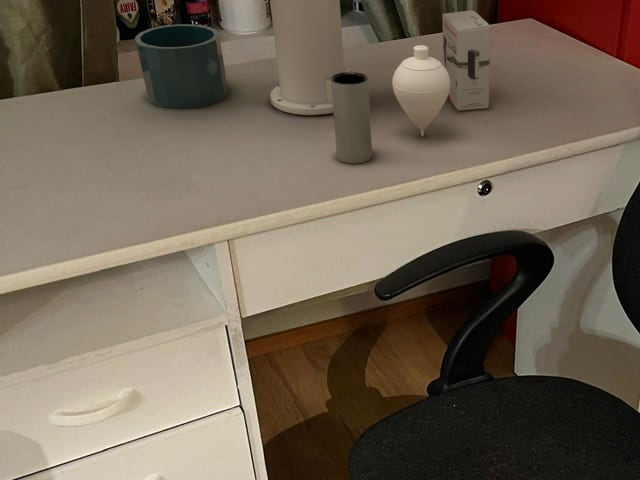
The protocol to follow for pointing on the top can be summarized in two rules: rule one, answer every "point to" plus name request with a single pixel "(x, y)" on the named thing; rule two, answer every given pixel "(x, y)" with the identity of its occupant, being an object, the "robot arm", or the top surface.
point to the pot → (182, 65)
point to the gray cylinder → (351, 117)
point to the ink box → (467, 59)
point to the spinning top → (421, 87)
